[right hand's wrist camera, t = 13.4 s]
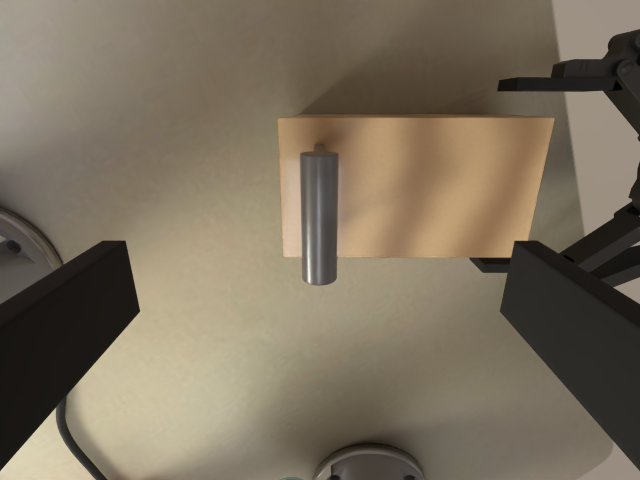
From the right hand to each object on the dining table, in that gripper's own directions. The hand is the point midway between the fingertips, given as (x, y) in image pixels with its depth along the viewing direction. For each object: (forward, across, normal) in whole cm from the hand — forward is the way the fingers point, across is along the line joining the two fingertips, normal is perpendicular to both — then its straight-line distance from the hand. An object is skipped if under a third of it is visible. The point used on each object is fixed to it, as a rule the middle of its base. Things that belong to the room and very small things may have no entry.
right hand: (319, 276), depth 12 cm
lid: (+14, -6, 0) cm, 15 cm away
